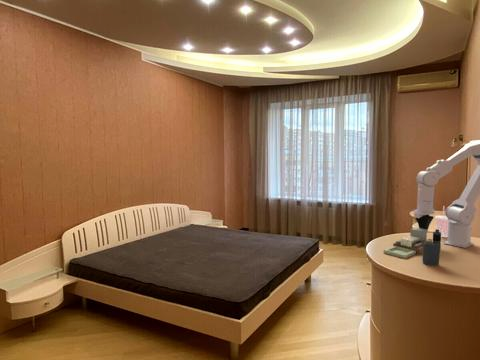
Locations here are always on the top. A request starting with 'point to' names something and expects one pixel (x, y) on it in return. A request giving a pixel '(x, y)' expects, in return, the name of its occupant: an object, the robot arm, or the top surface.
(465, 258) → the top surface
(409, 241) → the chip
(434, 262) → the vaping device
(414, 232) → the sage green cube
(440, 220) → the beverage cup
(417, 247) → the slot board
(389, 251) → the chip tray
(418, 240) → the chip
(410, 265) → the top surface
